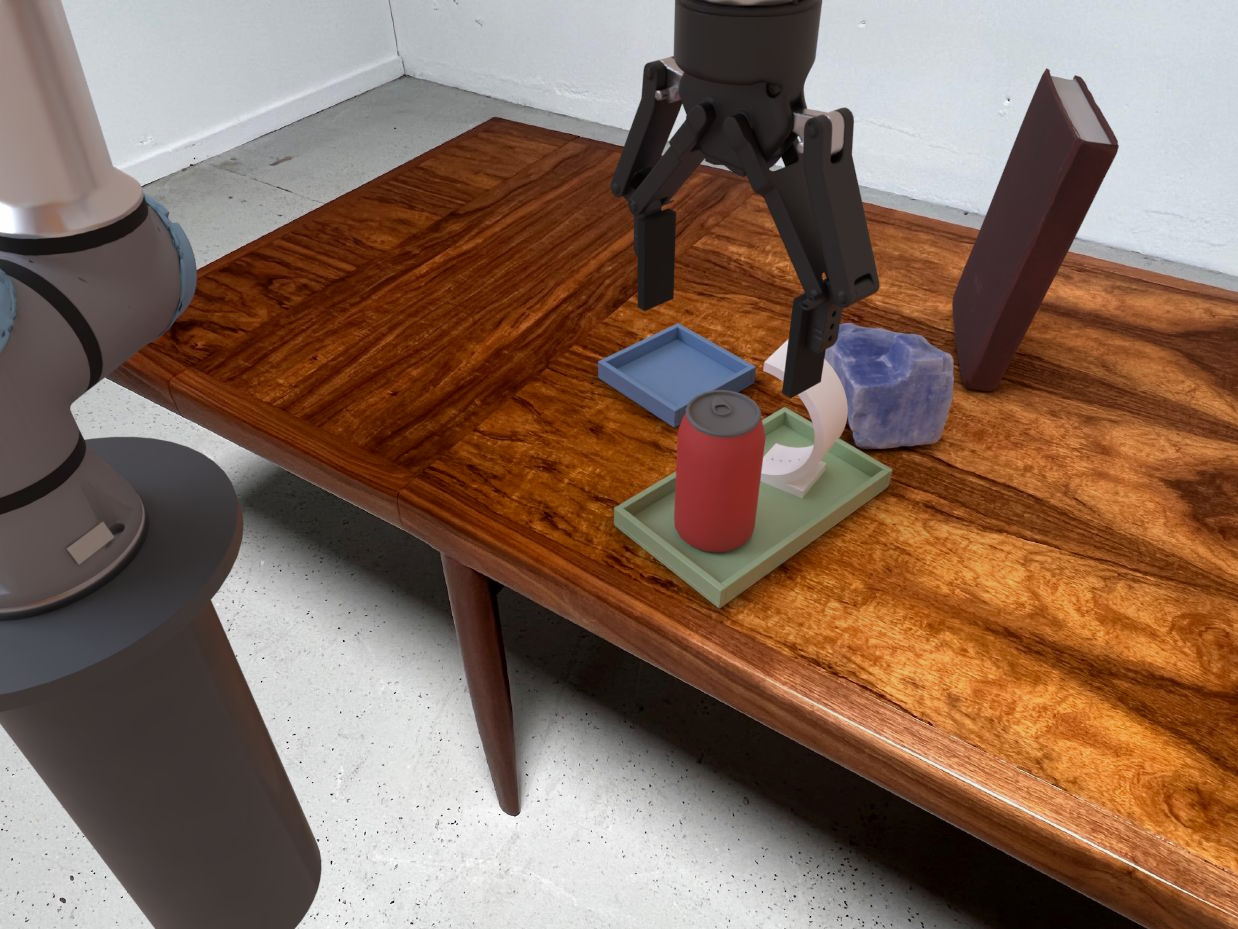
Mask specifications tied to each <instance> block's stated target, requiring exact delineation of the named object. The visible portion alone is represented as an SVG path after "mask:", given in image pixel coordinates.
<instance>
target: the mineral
mask: <svg viewBox="0 0 1238 929" xmlns="http://www.w3.org/2000/svg"><path fill="white" fill-rule="evenodd" d="M825 360H826V361H827V362H828V363H829V364H830V365H831V367H832V368H833V369H834V371H835V372H836V374H837V376H838V377H839V379H840V381H841V383H842V386H843V388H844V391H845V394H846V399H847V406H848V414H847V421H848V425H849V428H850V430H851V431H852V438H853V440H854V444H855V446H856V447H858V448H860V449H862V450H885V449H893V448H900V447H914V446H922V445H923V446H925V445H932V444H936V443H937V442H938V441H940V440H941V438H942V435H943V433H944V429H945V427H946V423H947V420H948V417H949V413H950V410H951V406H952V403H953V398H954V382H955V377H954V367H955V365H954V364H955V363H954V360H955V359H954V358H953V356H952V355H951V354H950V353H949V352H946V351H944V350H942V349H940V348H938V347H936V346H934V345H932V344H931V343H930V342H929V341H928V340H927V339H926V338H925V337H924V336H922V335H920V334H915V333H903V332H895V331H891V330H888V329H885V328H882V327H877V328H875V327H864V326H860V325H857V324H855V323H854V322H853V323H852V322H845V323H840V327H839V333H838V339H837V341H836V343H835V344H834V346H832V347H830V348H828V349H826V352H825Z"/></svg>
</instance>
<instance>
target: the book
mask: <svg viewBox="0 0 1238 929" xmlns="http://www.w3.org/2000/svg"><path fill="white" fill-rule="evenodd" d="M1119 148H1120V145H1119V140H1118V139H1117V136H1116V134H1115V133H1114V131H1113V129H1112V127H1111V126H1110V124H1109V122H1108V120H1107V119H1106V116H1105V115H1104V113H1103V111H1102V109H1101V108H1100V107H1099V105H1098V104H1097V102H1096V100H1095V98H1094V96H1093V94H1092V92H1091V91H1090V90H1089V88H1088V85H1087V84H1086V81H1085V80H1084V79H1083V77H1081V76H1079V75H1076V74H1075V75H1074V76H1073V78H1072V79H1068V78H1063V77H1059V76H1054V75H1051V70H1050V69H1049V68H1045V70H1044V71H1043V73H1042V74H1041V77H1040V79H1039V81H1038V83H1037V86H1036V88H1035V90H1034V93H1033V95H1032V97H1031V99H1030V102H1029V105H1028V107H1027V110H1026V112H1025V114H1024V116H1023V120H1022V121H1021V124H1020V127H1019V130H1018V132H1017V135H1016V137H1015V139H1014V142H1013V145H1012V148H1011V150H1010V153H1009V155H1008V158H1007V160H1006V163H1005V165H1004V168H1003V170H1002V173H1001V176H1000V178H999V181H998V183H997V186H996V188H995V191H994V193H993V196H992V199H991V201H990V205H989V206H988V208H987V212H986V214H985V216H984V219H983V221H982V224H981V226H980V229H979V231H978V233H977V236H976V239H975V241H974V243H973V246H972V247H971V251H970V252H969V255H968V257H967V260H966V263H965V264H964V268H963V270H962V272H961V275H960V278H959V280H958V282H957V285H956V287H955V290H954V293H953V295H952V304H951V307H952V320H953V327H954V337H955V338H954V339H955V345H956V352H957V359H958V365H959V371H960V377H961V381H962V384H963V386H964V387H965V388H966V389H970V390H975V391H983V392H986V393H990V392H994V391H995V390H997V388H998V387H999V385H1000V383H1001V381H1002V379H1003V378H1004V376H1005V373H1006V371H1007V370H1008V368H1009V366H1010V364H1011V362H1012V361H1013V359H1014V356H1015V355H1016V354H1017V352H1018V349H1019V348H1020V346H1021V344H1022V342H1023V340H1024V338H1025V335H1026V334H1027V332H1028V329H1029V328H1030V327H1031V323H1033V320H1034V318H1035V316H1036V314H1037V313H1038V310H1039V309H1040V307H1041V305H1042V303H1043V302H1044V299H1045V297H1046V295H1047V293H1048V291H1049V289H1050V287H1051V286H1052V283H1053V282H1054V280H1055V278H1056V276H1057V274H1058V272H1059V270H1060V268H1061V266H1062V264H1063V262H1064V260H1065V258H1066V256H1067V254H1068V253H1069V250H1070V249H1071V247H1072V245H1073V243H1074V241H1075V239H1076V237H1077V235H1078V234H1079V231H1080V228H1081V226H1082V224H1083V222H1084V220H1085V219H1086V217H1087V214H1088V212H1089V210H1090V208H1091V206H1092V204H1093V202H1094V201H1095V198H1096V196H1097V194H1098V192H1099V190H1100V188H1101V186H1102V183H1103V182H1104V180H1105V178H1106V176H1107V174H1108V172H1109V170H1110V168H1111V167H1112V165H1113V163H1114V160H1115V159H1116V156H1117V154H1118V151H1119Z"/></svg>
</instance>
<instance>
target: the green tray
mask: <svg viewBox="0 0 1238 929" xmlns="http://www.w3.org/2000/svg"><path fill="white" fill-rule="evenodd" d="M761 420H762V423H763V427H764V432H765V438H766V439H765V447H764V456H765V455H766V454H767V453H768V451H769V450H770V449H771V448H772V447H773V446H774V445H775V444H776V443H777V444H779V445H783V446H787V447H794V448H802V447H809V446H812V445H814V436H815V435H814V427H813V423H812V421H810V420H808V419H806V418H805V417H804V416H801V415H800V414H798V413H796V412H795V411H793V410H791V409H789V408H788V407H786V406H784V407H782V408H780V409H778V410H777V411H775V412H774V413H772V414H770V415H768V416H767V417H765V418H763V419H761ZM764 456H763V457H764ZM820 461H822V462H825V463H827V464H826V469H825V471H824V473H823V474H822V475H821V476H820V478H819V479H818V480H817V481H816V482H815V484H814V485H813V486H812V487H811V489H810V490H809V491H808V492H807V494H806V495H805V496H804V497H803V499H802V498H799V497H797V496H795V495H792V494H790V493H787V492H785V491H783V490H780V489H778V488H775V487H773V486H771V485H768V484H766V483H763V482H761V481H760V488H759V496H758V504H757V512H756V520H755V527H754V531H753V534H752V536H751V537H750V538H749V539H748V541H747V542H746V543H745V544H743V545H742V546H740V547H738V548H736V549H734V550H730V551H726V552H707V551H702V550H699V549H697V548H695V547H693V546H690V545H689V544H687V543H686V542H685V541H684V540H683V539H682V538H681V537H680V536H679V534H678V532H677V530H676V529H675V523H674V510H675V488H676V471H673V472H672V473H671V474H669V475H668V476H666V477H664V478H663V479H660V480H659V481H657V482H655V483H654V484H652V485H650V486H648V487H646V488H645V489H643V490H642V491H640V492H639V493H637V494H635V495H633V496H632V497H629V498H628V499H626V500H625V501H623V502H621V503H620V504H618V505H617V506H614V508H613V525H614V527H616V528H617V529H618V530H619V531H620V532H622V534H624V535H625V536H627V537H628V538H629V539H631V540H632V541H633V542H635V543H636V544H637V545H638V546H639V547H640V548H642V549H643V550H644V551H646V552H647V553H648V554H649V555H651V557H653V558H655V559H656V560H657V561H658V562H660V563H661V564H662V565H663V566H665V567H666V568H667V569H669V570H670V571H671V572H672V573H674V574H675V575H676V576H678V577H679V578H680V579H681V580H682V581H684V582H685V583H686V584H687V585H689V586H690V587H691V588H692V589H693V590H695V591H696V592H697V593H699V594H700V595H701V596H703V597H704V598H705V599H706V600H708V601H709V602H710V603H711V604H712V605H713V606H715V607H717V609H719V610H720V609H722V607H724V606H726V605H727V604H728V603H729V602H731V601H732V600H734V599H735V598H736V597H738V596H739V595H741V594H742V593H743V592H745V591H746V590H747V589H749V588H750V587H752V586H753V585H754V584H757V582H759V581H760V580H761V579H763V578H765V577H766V576H767V575H768V574H769V573H771V572H773V571H774V570H775V569H777V568H778V567H779V566H782V564H784V563H785V562H786V561H787V560H789V559H791V558H792V557H793V556H795V555H797V553H799V552H800V551H801V550H803V549H804V548H806V547H807V546H808V545H810V544H811V543H812V542H814V541H815V540H817V539H819V538H820V537H821V536H822V535H824V534H825V533H826V532H828V531H829V530H830V529H832V528H833V527H835V526H836V525H837V524H839V523H840V522H842V521H843V520H844V519H846V518H847V517H849V516H850V515H852V514H853V513H854V512H856V511H857V510H859V509H860V508H861V507H863V506H864V505H865V504H866V503H868V502H869V501H871V500H873V499H874V498H875V497H876V496H878V495H879V494H880V493H882V492H883V491H885V490H886V489H887V488H889V487H890V482H891V479H892V474H893V469H892V468H891V467H889V466H887V465H886V464H884V463H882V462H880V461H879V460H877V459H875V458H874V457H873V456H870V455H868V454H867V453H865V452H863V451H862V450H860V449H858V448H857V447H855V446H853V445H851V444H850V443H848V442H846V441H844V440H842V438H839V439H838V440H837V441H836V442H835V444H834V445H833V446H832V447H831V448H830V450H829V451H828V452H827V453H826V454H825V456H824V457H823V458H822V459H821V460H820Z"/></svg>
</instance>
